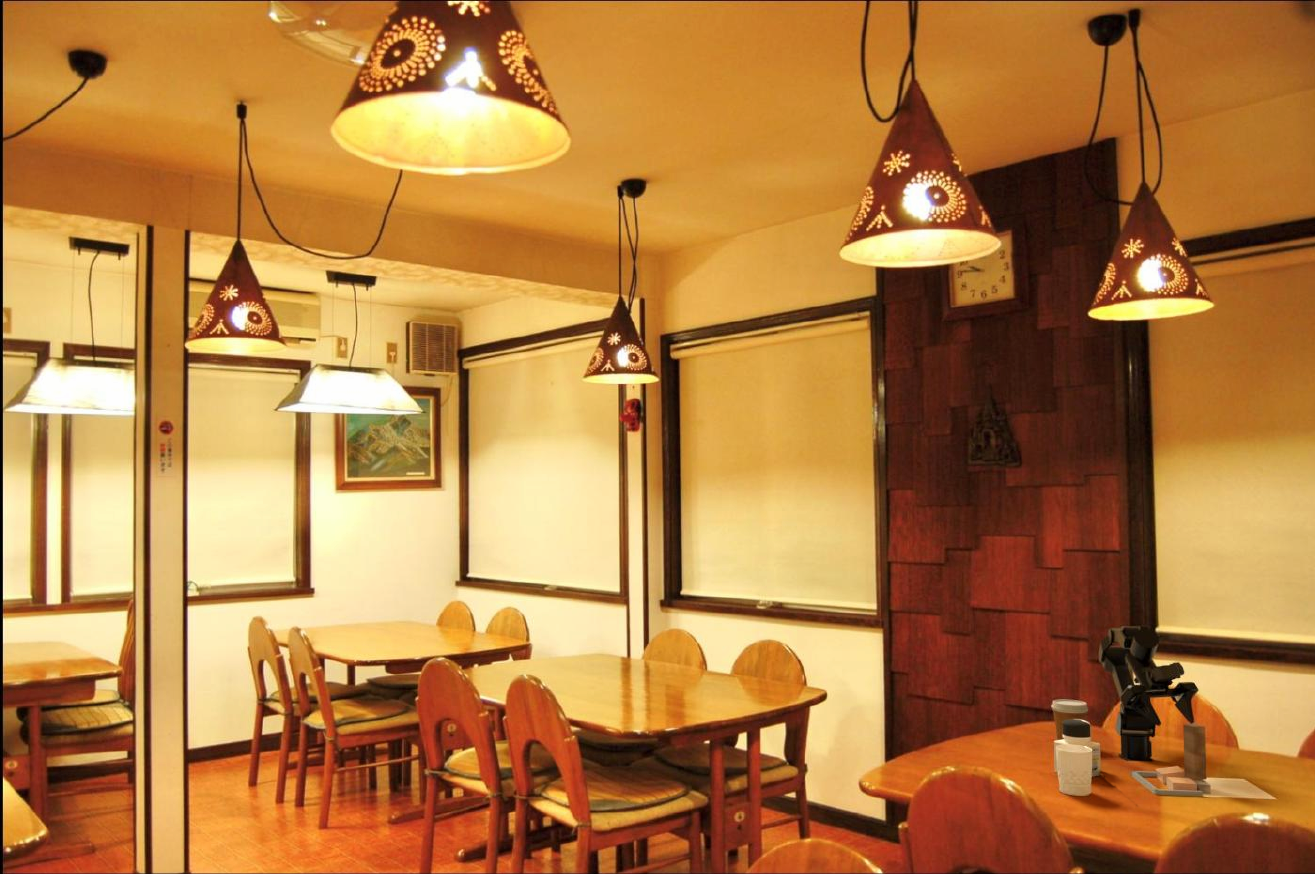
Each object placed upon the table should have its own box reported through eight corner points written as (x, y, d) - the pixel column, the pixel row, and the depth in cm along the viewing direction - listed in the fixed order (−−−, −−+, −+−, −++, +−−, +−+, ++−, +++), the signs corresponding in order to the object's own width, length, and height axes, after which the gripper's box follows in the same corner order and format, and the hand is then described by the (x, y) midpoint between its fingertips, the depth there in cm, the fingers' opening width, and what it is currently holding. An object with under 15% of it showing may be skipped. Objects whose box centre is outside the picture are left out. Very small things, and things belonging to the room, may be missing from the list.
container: (1079, 779, 251) (1078, 724, 252) (1053, 771, 258) (1052, 718, 259) (1101, 775, 255) (1100, 721, 255) (1075, 768, 261) (1074, 715, 262)
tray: (1174, 781, 249) (1174, 772, 249) (1202, 801, 232) (1202, 791, 232) (1131, 779, 250) (1131, 770, 251) (1155, 799, 234) (1155, 789, 234)
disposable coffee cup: (1073, 752, 278) (1072, 706, 279) (1044, 744, 286) (1043, 700, 287) (1096, 748, 283) (1095, 703, 284) (1067, 741, 291) (1066, 697, 292)
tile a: (1190, 791, 239) (1189, 777, 240) (1197, 797, 234) (1196, 783, 235) (1166, 789, 240) (1166, 776, 240) (1173, 795, 235) (1173, 782, 236)
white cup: (1050, 787, 243) (1049, 744, 244) (1082, 787, 244) (1082, 743, 245) (1066, 797, 236) (1065, 752, 236) (1100, 796, 236) (1098, 751, 237)
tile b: (1180, 778, 247) (1177, 765, 247) (1187, 784, 242) (1184, 771, 242) (1158, 781, 248) (1155, 768, 248) (1164, 786, 243) (1161, 773, 243)
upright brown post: (1196, 779, 246) (1194, 720, 247) (1214, 793, 234) (1212, 730, 235) (1177, 779, 247) (1176, 719, 248) (1195, 793, 235) (1193, 730, 236)
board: (1243, 783, 247) (1243, 778, 247) (1276, 804, 230) (1276, 798, 230) (1174, 781, 249) (1174, 776, 249) (1202, 801, 232) (1202, 796, 232)
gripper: (1127, 652, 256) (1158, 707, 245) (1192, 649, 260) (1226, 703, 249) (1107, 678, 264) (1136, 732, 253) (1171, 674, 268) (1203, 728, 257)
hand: (1176, 723), depth 253 cm, fingers open, 9 cm apart
